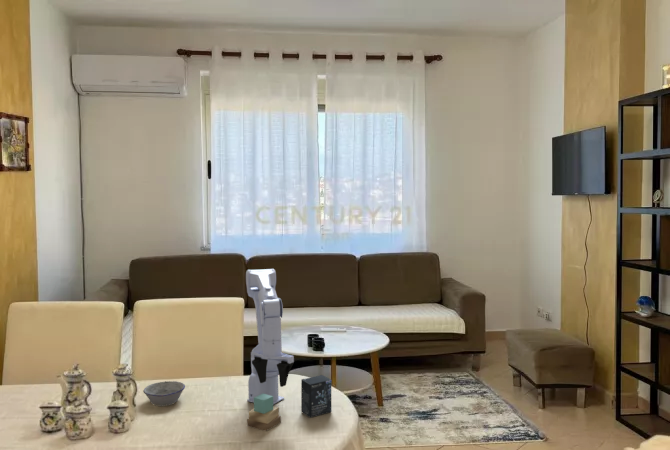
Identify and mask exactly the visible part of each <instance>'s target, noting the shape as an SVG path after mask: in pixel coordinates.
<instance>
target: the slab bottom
mask: <svg viewBox="0 0 670 450" xmlns="http://www.w3.org/2000/svg"><path fill="white" fill-rule="evenodd" d="M281 418H282V417H281V415H279V416H277V417H276V418H275V419H273V420H272V421H271V422H269V423H268V424H266V423H261V422H256V421H250V420H249V418H248V419H246V422H247V423H246V425H247V427H250V428H253V429H256V430H261V431H265V432H267V431H269V430H271V429H272V428H274V427H276V426H277V425H279V424H281V423H282V420H281Z"/></svg>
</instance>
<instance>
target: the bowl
mask: <svg viewBox="0 0 670 450" xmlns="http://www.w3.org/2000/svg"><path fill="white" fill-rule="evenodd" d="M185 388H186V385H185V384H184V383H183V382H181V381H177V380H176V381H174V380H173V381H170V380H169V381H168V380H167V381H159V382H155V383H151V384H148V385H147V386H145V388H144V389H143V390H142V391H143V394H145V396H146V397H147V399H148V400H149V402H150V403H151V404H152V405H153V404H154V405H153V406H156V405H157V407H167V406H171V405H173V403H174V404H176V403H177V402H178V401H179V399H180V396H182V395H181V394H182V393H183V392H184V389H185ZM175 402H176V403H175ZM166 405H167V406H166Z"/></svg>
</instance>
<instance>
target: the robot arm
mask: <svg viewBox="0 0 670 450" xmlns="http://www.w3.org/2000/svg"><path fill="white" fill-rule="evenodd" d="M245 284H246V293H247V296H248V297H250V298H251V299H252V300H253V301H254V302H253V303H254V306H255V317H256V330H257V331H256V332H257V341H258V342H257V345H256V346H255V347H253V348H252V350H251V352H250V367H251V374H250V375H249V377H248V383H247V384H248V385H247V387H248V392H247V393H248V399H246V401H247V402H250V403H253V404H254V397H256V396H258V395H261V394H267V395H271V396H273V405H276V404H277V403H279V402H280V401H282V400H284V399H285V397H284V396H281V395H279V386H280V387H285V386H286V385H287V382H288V378H289V373H290V371H291V369H292V367H293V365H294V362H295V358H294V357H295V356H294V355H291V354H287V353H285V352H282V322H281V321H282V319H281V318H283V313H284V308H283V307H284V305H283V302H282V299H281V298H280V297H278V295H277V291H276V285H277V272H276V269H274V268H266V269H265V268H264V269H247V270H246V272H245Z"/></svg>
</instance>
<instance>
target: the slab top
mask: <svg viewBox="0 0 670 450" xmlns="http://www.w3.org/2000/svg"><path fill="white" fill-rule="evenodd" d="M279 409H280V408H279V406H274V405H273V410H271V411H269V412H267V413H265V414H263V413H260V412H256V411H254V408H252V409H251V410H249V411H248V419H249V420H250V421H256V422H261V423H266V424H268V423H269V422H271V421H272V420H273V419H275V418H276V417H277V416H280V412H279Z"/></svg>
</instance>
